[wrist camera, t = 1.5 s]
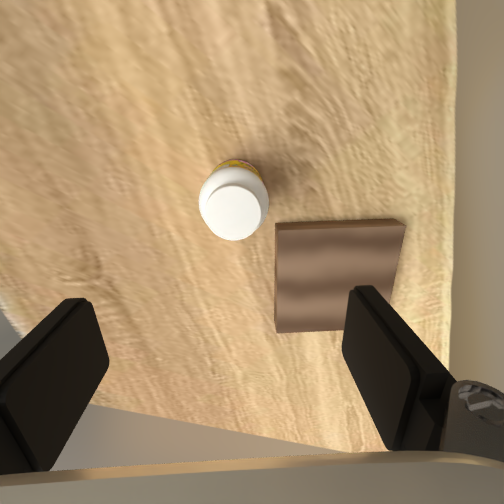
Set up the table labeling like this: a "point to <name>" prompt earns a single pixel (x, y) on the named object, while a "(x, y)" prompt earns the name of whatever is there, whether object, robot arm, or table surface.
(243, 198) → the supplement bottle
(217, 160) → the table surface
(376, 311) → the robot arm
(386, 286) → the block
